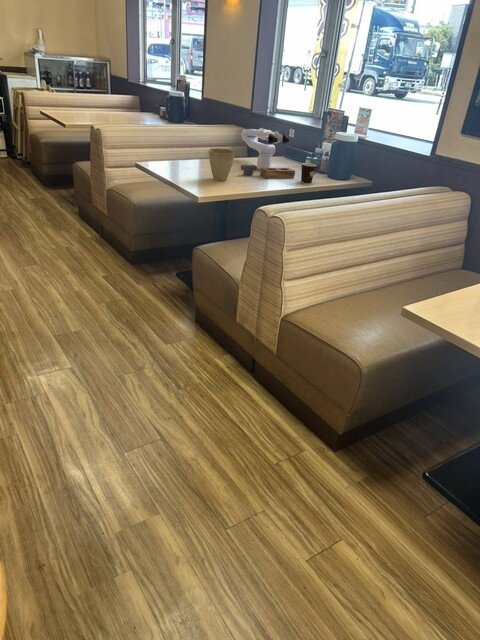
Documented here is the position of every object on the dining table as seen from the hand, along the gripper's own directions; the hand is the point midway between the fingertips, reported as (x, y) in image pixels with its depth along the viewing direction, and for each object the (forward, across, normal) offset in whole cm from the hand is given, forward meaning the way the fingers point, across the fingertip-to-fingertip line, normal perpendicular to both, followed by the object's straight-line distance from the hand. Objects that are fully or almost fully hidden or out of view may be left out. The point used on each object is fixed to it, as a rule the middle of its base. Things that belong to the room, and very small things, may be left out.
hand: (282, 140), depth 282 cm
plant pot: (+6, -42, +21) cm, 47 cm away
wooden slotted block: (-1, -1, +21) cm, 21 cm away
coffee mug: (+12, +14, +22) cm, 29 cm away
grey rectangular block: (-5, -19, +21) cm, 29 cm away
